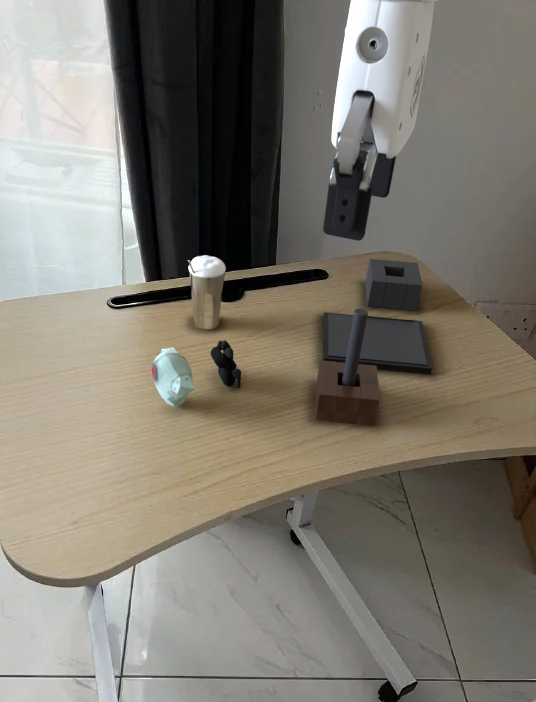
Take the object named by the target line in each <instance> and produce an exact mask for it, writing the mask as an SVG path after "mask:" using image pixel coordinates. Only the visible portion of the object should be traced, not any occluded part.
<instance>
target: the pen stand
mask: <svg viewBox="0 0 536 702" xmlns="http://www.w3.org/2000/svg"><path fill="white" fill-rule="evenodd" d="M344 367H345V363H342V362H338V363H337V362H333V361H323V359H322V360H321V359H320V360H319V362H318V372H317V377H316V384H315V418H314V419H315V420H317V421H327V422H336V423H345V424H355V425H356V424H358V425H367V426H375V425H376V420H377V416H378V411H379V407H380V403H381V396H380V385H379V376H378V369H377V366H373V365H363V364H358V369H357V374H356V380H355V385H354V387H352V386H342V385H341V384H342V378H343V373H344Z"/></svg>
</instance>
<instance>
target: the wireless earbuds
mask: <svg viewBox="0 0 536 702" xmlns="http://www.w3.org/2000/svg"><path fill="white" fill-rule="evenodd" d="M210 357H211V359H212V360H213V362H214V364H215V365H216V367H217V373H218V376H219V379H221V381H222V383H223V385H224V386H226V387H232V386H234V385H235V384H236V389H237V390H240V389H241V385H242V370H241V369H239V368H237V367H238V366H237V365H238V364H237V362H236V361H235V360H234V350H233V348H232V347H231V345H230V343H229V342H228V341H227V340H225V339H224V340H218V342H217V344H216V346H213V347H212V348H211V350H210Z"/></svg>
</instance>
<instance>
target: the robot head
mask: <svg viewBox="0 0 536 702" xmlns="http://www.w3.org/2000/svg"><path fill="white" fill-rule="evenodd" d="M151 373H152V378H153V382H154V386H155V388H156V390H157V392H158V394H159V395H160V396H161V398H162V399H163V400H164V401H165V403H166V404H168V405H171V406H172V407H178V406H180V405H182V404H183V403H184V402H185V401H186V400H187V398H188V395H189V394H190V393H192V392H194V391H195V390H196V388H195V385H194V383H193V373H192V367H191V365H190V364H189V362H188V360H187V358H186V357H185V356H184V355H183V354H181V353H180V352H178V351H177V350H176V348H174V347H167V348H161V350H160V353H159V354H158V355H157V356H155V358H154V359H153V362H152V364H151Z"/></svg>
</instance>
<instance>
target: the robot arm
mask: <svg viewBox="0 0 536 702" xmlns="http://www.w3.org/2000/svg"><path fill="white" fill-rule="evenodd" d="M435 2H441V0H350V5H349V9H348V17H347V21H346V27H345V29H344V39H343V45H342V50H341V56H340V57H341V58H340V64H339V70H338V78H337V82H336V83H337V85H336V90H335V99H334V107H333V114H332V115H333V116H332V125H331V144H332V145H333V148H335V150H337V151H336V153H335V154H336V155H335V158H334V159H333V161H332V169H331V172H330V176H329V182H328V186H327V187H328V189H327V195H326V203H325V209H324V210H325V211H324V218H323V225H322V232H323V233H324V234H325V235H328V236H333V237H338V238H343V239H348V240H353V241H356V242H357V241H360V242H361V241H362V240H363V239H364V237H365V235H366V231H367V226H368V225H367V224H368V220H369V213H370V207H371V202H372V197H377V198H383V199H384V198H387V197H388V196H389V194H390V192H391V186H392V181H393V175H394V170H395V165H396V160H397V155H399V154H400V152H402V149H403V148H404V147H405V145H406V143H407V142H408V140H409V139H410V137H411V135H412V134H413V132H414V129H415V127H416V123H417V116H418V110H419V105H420V98H421V93H422V87H423V86H422V85H423V82H424V81H423V80H424V75H425V70H426V64H427V58H428V51H429V46H430V40H431V33H432V29H433V28H432V27H433V18H434V12H435V11H434V10H435Z"/></svg>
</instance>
